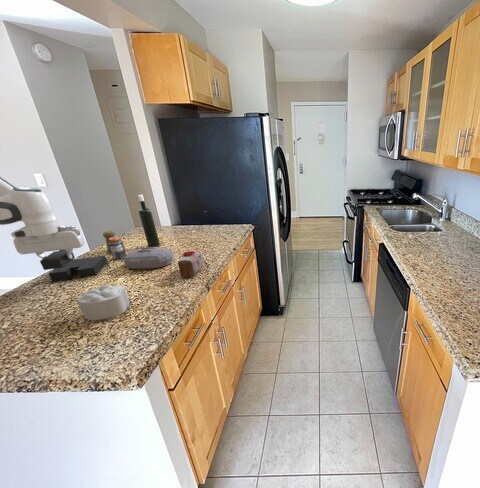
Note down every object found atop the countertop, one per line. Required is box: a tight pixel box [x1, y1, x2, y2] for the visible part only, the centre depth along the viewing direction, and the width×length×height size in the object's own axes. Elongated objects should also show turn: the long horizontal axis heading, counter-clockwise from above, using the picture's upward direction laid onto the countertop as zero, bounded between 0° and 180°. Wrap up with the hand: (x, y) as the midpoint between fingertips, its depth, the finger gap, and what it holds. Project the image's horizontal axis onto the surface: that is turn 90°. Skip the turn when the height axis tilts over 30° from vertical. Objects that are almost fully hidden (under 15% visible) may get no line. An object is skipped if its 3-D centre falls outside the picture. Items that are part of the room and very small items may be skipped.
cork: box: [102, 230, 116, 253], centre depth 145 cm, size 6×6×11 cm
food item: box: [177, 249, 205, 278], centre depth 121 cm, size 14×8×10 cm, turn 8°
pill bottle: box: [108, 236, 128, 261], centre depth 135 cm, size 6×6×11 cm
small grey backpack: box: [123, 246, 174, 270], centre depth 128 cm, size 15×8×20 cm
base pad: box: [48, 255, 109, 282], centre depth 122 cm, size 16×14×4 cm
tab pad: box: [39, 249, 76, 271], centre depth 109 cm, size 6×13×4 cm, turn 20°
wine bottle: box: [137, 194, 161, 248], centre depth 147 cm, size 6×6×30 cm
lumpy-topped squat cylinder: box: [76, 284, 131, 321], centre depth 93 cm, size 10×13×9 cm
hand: (58, 259), depth 108 cm, fingers closed on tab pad, 6 cm apart
